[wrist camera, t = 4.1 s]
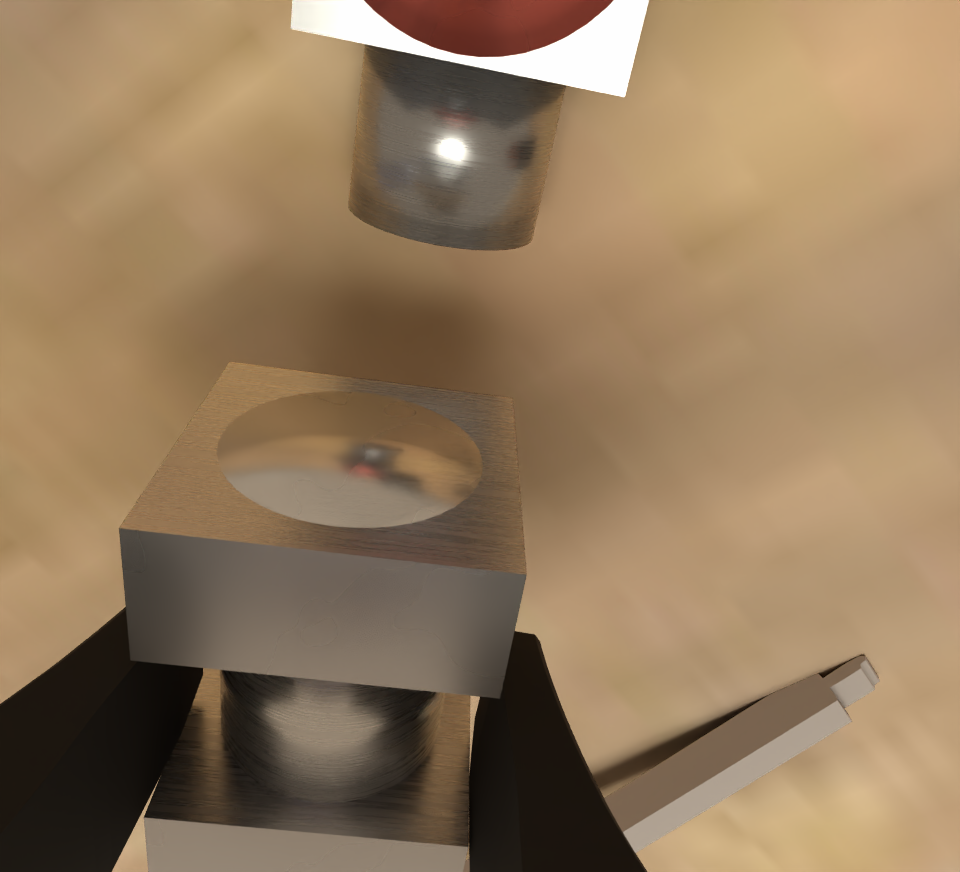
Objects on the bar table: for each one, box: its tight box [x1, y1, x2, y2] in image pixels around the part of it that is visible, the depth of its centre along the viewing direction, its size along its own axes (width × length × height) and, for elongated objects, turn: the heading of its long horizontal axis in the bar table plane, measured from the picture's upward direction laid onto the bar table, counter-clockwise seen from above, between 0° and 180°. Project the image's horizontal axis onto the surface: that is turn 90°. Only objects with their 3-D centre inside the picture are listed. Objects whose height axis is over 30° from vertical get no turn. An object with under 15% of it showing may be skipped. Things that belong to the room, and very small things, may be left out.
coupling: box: [119, 362, 527, 872], centre depth 13 cm, size 7×5×5 cm, turn 172°
